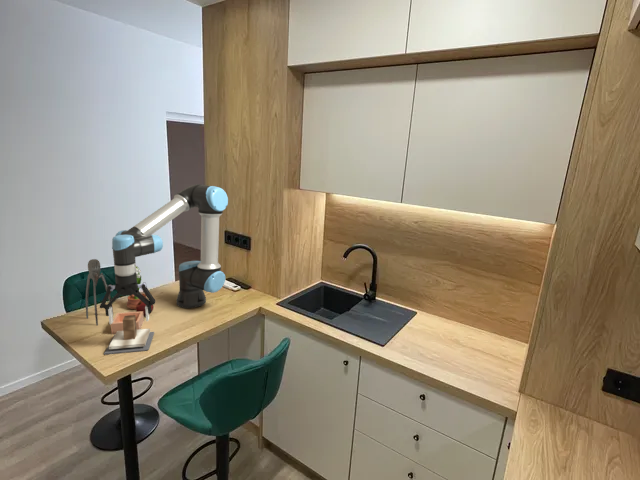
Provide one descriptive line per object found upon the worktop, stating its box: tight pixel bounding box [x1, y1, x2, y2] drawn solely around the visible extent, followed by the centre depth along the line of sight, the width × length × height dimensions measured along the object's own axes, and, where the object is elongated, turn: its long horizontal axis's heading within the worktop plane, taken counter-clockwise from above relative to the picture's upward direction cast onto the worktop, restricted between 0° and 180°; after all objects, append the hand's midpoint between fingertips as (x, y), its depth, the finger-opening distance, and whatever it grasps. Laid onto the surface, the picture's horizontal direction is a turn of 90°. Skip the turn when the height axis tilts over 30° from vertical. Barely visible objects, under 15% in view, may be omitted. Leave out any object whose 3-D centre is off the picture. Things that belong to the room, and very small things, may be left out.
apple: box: [135, 301, 154, 317], centre depth 170 cm, size 7×8×8 cm
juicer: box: [85, 258, 114, 326], centre depth 160 cm, size 10×11×30 cm
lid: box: [108, 315, 151, 349], centre depth 144 cm, size 13×13×11 cm
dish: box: [110, 311, 145, 335], centre depth 158 cm, size 11×11×5 cm
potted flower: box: [126, 265, 147, 310], centre depth 176 cm, size 12×10×25 cm
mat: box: [103, 331, 155, 356], centre depth 145 cm, size 16×15×1 cm
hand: (129, 321), depth 143 cm, fingers open, 13 cm apart
